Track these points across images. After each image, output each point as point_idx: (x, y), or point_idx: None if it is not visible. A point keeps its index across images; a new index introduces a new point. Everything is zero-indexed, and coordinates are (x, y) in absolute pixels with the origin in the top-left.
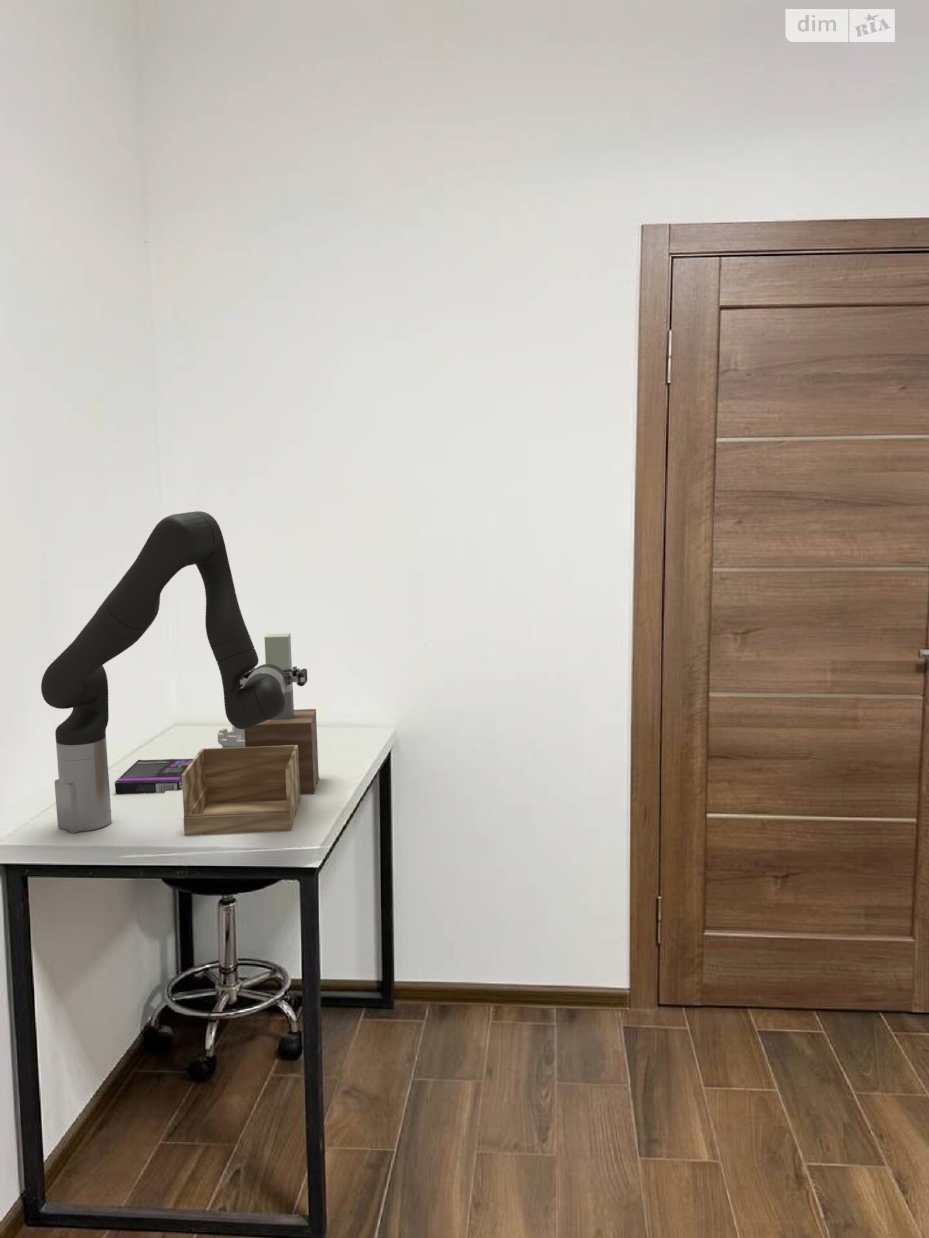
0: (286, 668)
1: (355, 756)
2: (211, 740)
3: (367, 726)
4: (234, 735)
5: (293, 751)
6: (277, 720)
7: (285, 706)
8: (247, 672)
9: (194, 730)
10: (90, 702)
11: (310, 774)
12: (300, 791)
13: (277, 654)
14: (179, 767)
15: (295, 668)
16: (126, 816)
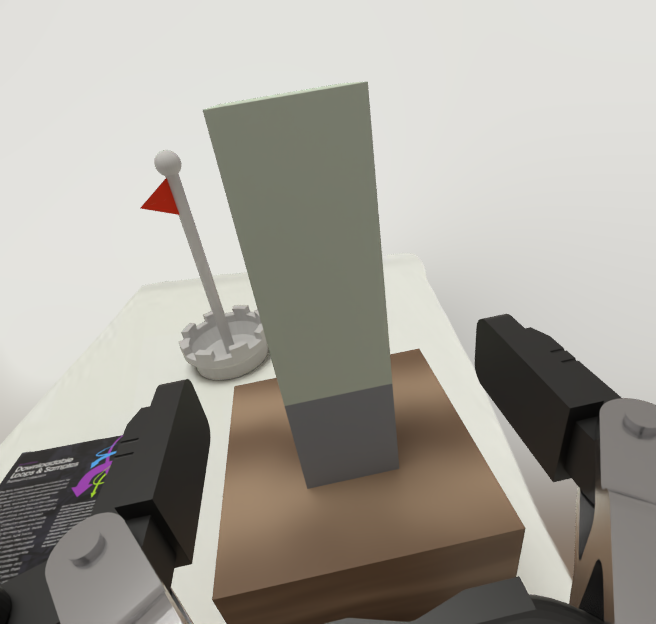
0: (630, 510)
1: (432, 356)
2: (180, 325)
3: (386, 263)
4: (210, 328)
5: None
6: (347, 494)
7: (372, 436)
8: (60, 607)
9: (159, 300)
10: None
11: None
12: None
13: (310, 218)
14: (92, 498)
15: (638, 412)
16: None
